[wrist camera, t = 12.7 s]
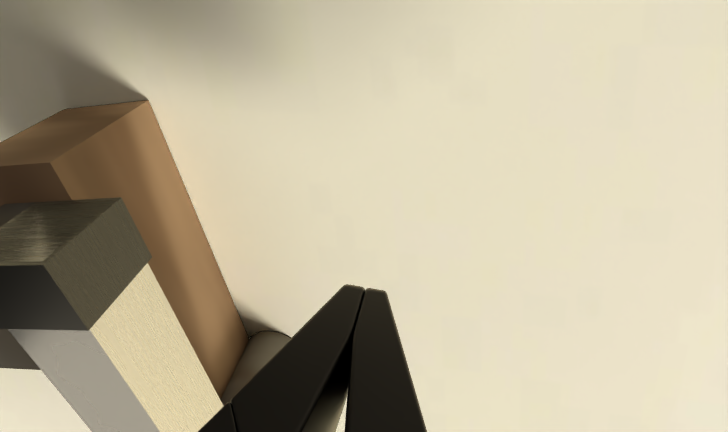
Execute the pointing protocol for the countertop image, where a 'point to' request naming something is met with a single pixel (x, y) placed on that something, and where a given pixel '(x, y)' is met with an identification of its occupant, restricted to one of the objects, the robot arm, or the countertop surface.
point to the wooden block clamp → (151, 216)
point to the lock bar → (100, 318)
